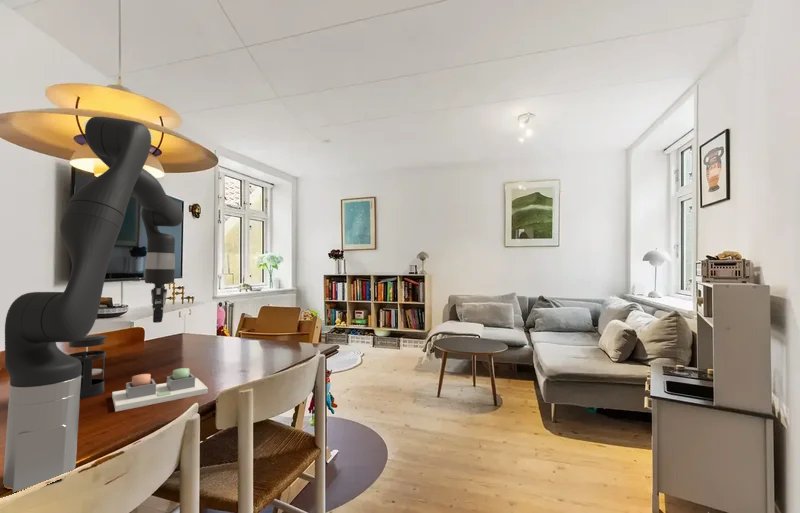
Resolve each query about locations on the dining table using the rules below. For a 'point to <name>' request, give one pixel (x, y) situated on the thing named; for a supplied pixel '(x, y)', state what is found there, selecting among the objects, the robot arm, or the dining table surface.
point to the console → (157, 392)
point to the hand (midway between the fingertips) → (158, 320)
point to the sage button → (180, 373)
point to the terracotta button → (141, 380)
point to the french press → (90, 365)
